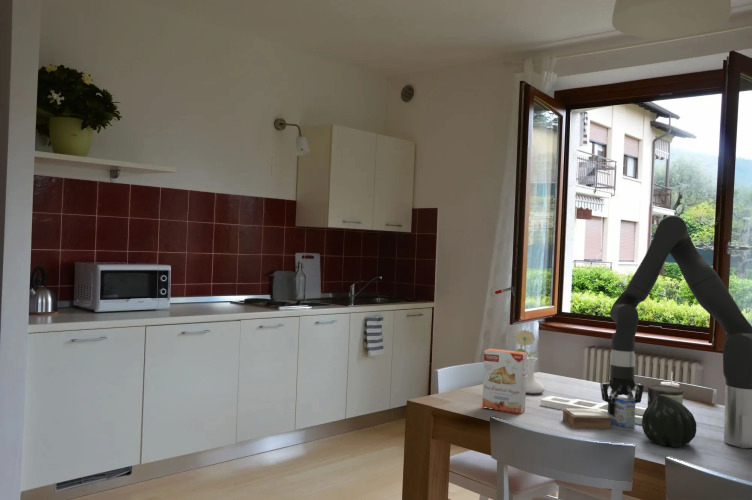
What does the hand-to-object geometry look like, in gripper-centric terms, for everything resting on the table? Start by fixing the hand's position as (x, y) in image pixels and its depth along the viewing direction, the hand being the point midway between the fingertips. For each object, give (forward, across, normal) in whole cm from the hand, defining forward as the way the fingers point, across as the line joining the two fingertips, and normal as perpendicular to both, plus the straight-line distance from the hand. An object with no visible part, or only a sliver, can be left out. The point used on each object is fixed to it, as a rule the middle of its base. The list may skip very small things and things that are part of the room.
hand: (621, 414), depth 206 cm
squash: (+3, +5, -21) cm, 22 cm away
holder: (+4, +4, +16) cm, 17 cm away
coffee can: (+3, +10, -9) cm, 14 cm away
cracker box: (+3, -35, +16) cm, 39 cm away
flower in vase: (+3, -17, +47) cm, 50 cm away
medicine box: (+3, 0, 0) cm, 3 cm away
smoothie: (+3, +28, +22) cm, 36 cm away
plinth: (+3, -12, -1) cm, 12 cm away
